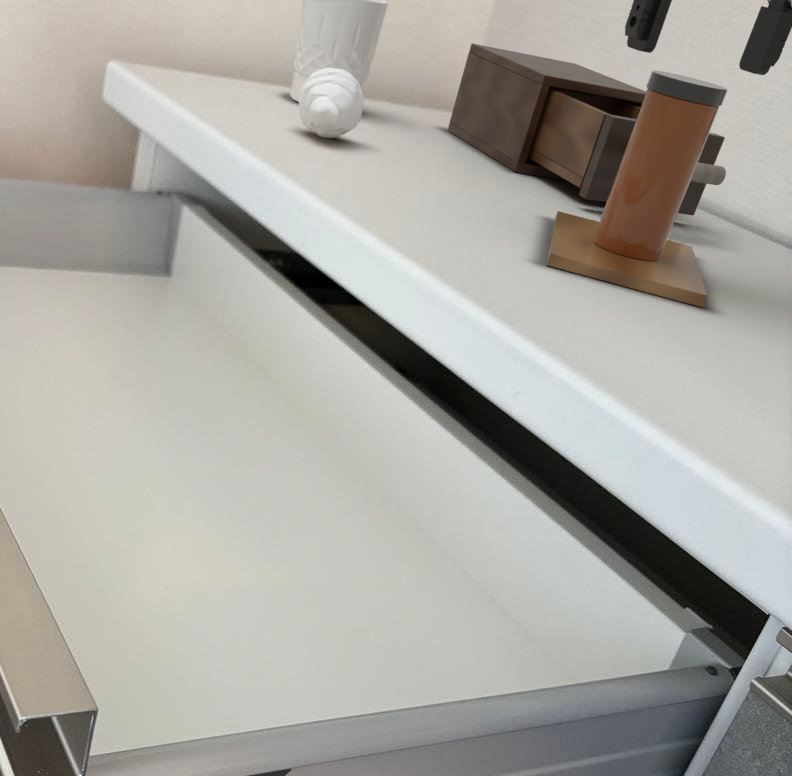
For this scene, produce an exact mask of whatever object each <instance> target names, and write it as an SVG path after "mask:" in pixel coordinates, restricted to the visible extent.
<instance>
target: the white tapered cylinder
mask: <svg viewBox="0 0 792 776" xmlns="http://www.w3.org/2000/svg"><path fill="white" fill-rule="evenodd" d="M388 6H389V2H388V1H387V0H303V3H302V8H301V15H300V21H299V27H298V33H297V40H296V50H295V54H294V63H293V64H294V65H293V68H294V71H293V73H292V74H293V75H292V80H291V85H290V86H291V87H290V92H289V96H290V97H291V99H292V100H293V101H296V102H298V103H299V93H300V90H301V88H302V86H303V85H304V83H305V82H306V81H307V80H308V78H309V77H310V76H311V75H312V74H313V73H315V72H317V71H319V70H321V69H324V68H335V69H342V70H345V71H347V72H348V73H350V74H351V75H352V76H353V77H354V78H355V79H356V80H357V81H358V83H359V84H360V86H361V90H362V93H363V92H364V85H365V84H366V82H367V80H368V77H369V73H370V69H371V66H372V63H373V60H374V57H375V54H376V50H377V46H378V43H379V39H380V35H381V32H382V28H383V25H384V20H385V18H386V13H387V9H388Z"/></svg>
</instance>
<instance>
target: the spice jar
mask: <svg viewBox="0 0 792 776" xmlns="http://www.w3.org/2000/svg"><path fill="white" fill-rule="evenodd" d="M646 83H647V84H646V90H645V91H646V94H645V96H644V99H643V102H642V105H641V108H640V110H639V113H638V116H637V119H636V122H635V124H634V127H633V130H632V133H631V136H630V138H629V141H628V144H627V147H626V150H625V152H624V155H623V158H622V161H621V164H620V166H619V169H618V172H617V175H616V177H615V180H614V183H613V186H612V189H611V191H610V194H609V197H608V200H607V202H605V206H604V208H603V212H602V214H601V216H600V220H599V221H598V222H599V225H598V228H597V231H596V233H595V236H594V239H593V241H594V243H596V244H597V245H598V246H600V247H602V248H604V249H606V250H608V251H610V252H613V253H616V254H619V255H622V256H625V257H629V258H634V259H639V260H645V261H656V260H659V259H660V257H661V254H662V252H663V249H664V247H665V244H666V242H667V240H669V237H670V234H671V231H672V229H673V227H674V224H675V222H676V219H677V216H678V214H679V213H678V211H679V209H680V206H681V203H682V201H683V198H684V196H685V193H686V191H687V188H688V186H689V183H690V181H691V178H692V175H693V173H694V170H695V168H696V165H697V163H698V160H699V158H700V155H701V153H702V150H703V147H704V145H705V142H706V140H707V137H708V135H709V133H711V130H712V126H713V125H714V122H715V119H716V117H717V114H718V112H719V109H720V107H722V105H723V104H724V102H725V101H724V100H725V98H726V96H727V93H728V88H726V87H724V86H721V85H718V84H715V83H712V82H709V81H707V80H706V81H705V80H702V79H698V78H694V77H690V76H687V75H683V74H678V73H672V72H668V71H661V70H651V73H650V75H649V78H648V81H647V82H646Z"/></svg>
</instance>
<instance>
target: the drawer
mask: <svg viewBox="0 0 792 776" xmlns="http://www.w3.org/2000/svg"><path fill="white" fill-rule="evenodd" d="M640 108H641V107H640V106H637V105H635V104H633V103H630V102H628V101H625V100H620V99H615V98H610V97H604V96H599V95H594V94H588V93H583V92H578V91H572V90H567V89H562V88H556V87H551V86H550V87H549V91H548V94H547V97H546V100H545V103H544V107H543V110H542V113H541V116H540V119H539V122H538V126H537V129H536V132H535V135H534V138H533V141H532V145H531V148H530V151H529V154H528V158H529V159H531V160H533V161H535V162H536V163H538V164H540V165H541V166H543V167H545V168H547V169H548V170H550V171H552V172H553V173H555V174H557V175H559V176H560V177H562V178H564V179H565V180H564V181H567V182H569V183H571V184H572V185H574V186H576V187H577V188H578V189H580V190H579V193H578V196H579V197H581V198H583V199H585V200H588V201H596V202H601V203H607V200H608V197H609V194H610V191H611V189H612V186H613V183H614V180H615V177H616V175H617V172H618V169H619V166H620V164H621V161H622V158H623V155H624V152H625V150H626V147H627V144H628V141H629V138H630V136H631V133H632V130H633V127H634V124H635V122H636V119H637V116H638V113H639V110H640ZM725 138H726V137H724V136H723V135H721V134H718V133H713V132H709V135H708V137H707V140H706V142H705V145H704V147H703V150H702V153H701V155H700V158H699V160H698V163H697V165H696V168H695V170H694V173H693V175H692V178H691V181H690V183H689V186H688V188H687V191H686V193H685V196H684V198H683V201H682V203H681V206H680V209H679V211H678V214H679V215H687V216H694V215H695V214H696V211H697V209H698V206H699V203H700V201H701V199H702V196H703V193H704V190H705V188H706V186H707V185H712V186H720V185H721V184H722V183H723V182H724V181H725V179H726V176H727V170H726V168H725V167H724V166H722V165H716V161H717V159H718V156H719V154H720V151H721V149H722V147H723V144H724V141H725Z"/></svg>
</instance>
